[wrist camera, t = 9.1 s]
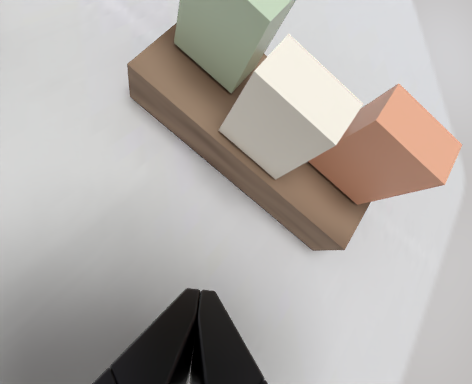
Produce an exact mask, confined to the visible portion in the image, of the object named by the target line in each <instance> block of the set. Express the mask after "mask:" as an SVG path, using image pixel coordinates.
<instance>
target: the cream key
mask: <svg viewBox="0 0 472 384" xmlns="http://www.w3.org/2000/svg"><path fill="white" fill-rule="evenodd" d="M362 105H363V103H362V102H361V101H360V100H359V99H358V98H357V97H356V96H355V95H354V94H352V93H351V92H350V91H349V90H348V89H347V88H346V87H345V86H344V85H343V84H342V83H341V82H340V81H339V80H338V79H337V78H335V77H334V76H333V75H332V74H331V73H330V72H329V71H328V70H327V69H326V68H325V67H324V66H323V65H322V64H321V63H319V62H318V61H317V60H316V59H315V58H314V57H313V56H312V55H311V54H310V53H309V52H308V51H307V50H306V49H305V48H304V47H302V46H301V45H300V44H299V43H298V42H297V41H296V40H295V39H294V38H293V37H292V36H291V35H290V34H288V35H287V36H286V37H285V38H284V39H283V40H282V42H281V43H280V44H279V45H278V46H277V47H276V48H275V49H274V50H273V51H272V52H271V53H270V55H269V56H268V57H267V58H266V59H265V60H264V61H263V62H262V63H261V64H260V65H259V66H258V67H257V69H256V70H255V71H254V72H253V74H252V75H251V77H250V79H249V80H248V82H247V84H246V85H245V87H244V89H243V90H242V92H241V94H240V95H239V97H238V99H237V100H236V102H235V104H234V105H233V107H232V109H231V110H230V112H229V114H228V115H227V117H226V119H225V120H224V122H223V124H222V125H221V127H220V129H219V131H220V132H221V133H222V134H223V135H224V136H226V137H227V138H228V139H229V140H230V141H231V142H233V143H234V144H235V145H236V146H237V147H238V148H240V149H241V150H242V151H243V152H244V153H245V154H247V155H248V156H249V157H250V158H251V159H252V160H253V161H255V162H256V163H257V164H258V165H259V166H260V167H262V168H263V169H264V170H265V171H266V172H267V173H269V174H270V175H271V176H272V177H273V178H274V179H277V178H279V177H281V176H283V175H285V174H286V173H288V172H290V171H292V170H293V169H295V168H297V167H299V166H301V165H302V164H304V163H306V162H308V161H309V160H311V159H313V158H315V157H316V156H318V155H320V154H322V153H324V152H325V151H327V150H329V149H331V148H332V147H334V146H336V145H337V143H338V142H339V140H340V139H341V137H342V136H343V134H344V133H345V131H346V130H347V128H348V127H349V125H350V124H351V122H352V121H353V119H354V118H355V116H356V115H357V113H358V112H359V110H360V109H361V107H362Z"/></svg>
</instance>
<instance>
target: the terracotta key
mask: <svg viewBox="0 0 472 384" xmlns="http://www.w3.org/2000/svg"><path fill="white" fill-rule="evenodd" d="M461 147H462V144H461V143H460V142H459V141H458V140H457V139H456V138H455V137H454V136H453V135H452V134H451V133H449V132H448V131H447V130H446V129H445V128H444V127H443V126H442V125H441V124H440V123H439V122H438V121H437V120H436V119H435V118H434V117H433V116H432V115H431V114H430V113H429V112H428V111H427V110H426V109H425V108H424V107H423V106H422V105H421V104H420V103H418V102H417V101H416V100H415V99H414V98H413V97H412V96H411V95H410V94H409V93H408V92H407V91H406V90H405V89H404V88H403V87H402V86H401V85H400V84H397V85H396V86H394V87H393V88H391V89H390V90H388V91H387V92H385V93H384V94H382V95H381V96H379V97H378V98H376V99H375V100H373V101H372V102H370V103H369V104H367V105H366V106H364V107H363V108H361V109H360V110H359V112H358V113H357V115H356V116H355V118H354V119H353V121H352V122H351V124H350V125H349V127H348V128H347V130H346V131H345V133H344V134H343V136H342V137H341V139H340V140H339V142H338V143H337V145H336V146H334V147H332V148H331V149H329V150H327V151H325V152H324V153H322V154H320V155H318V156H316V157H315V158H313V159H311V160H309V161H308V162H309V163H311V164H312V165H313V166H314V167H315V168H316V169H317V170H318V171H320V172H321V173H322V174H323V175H324V176H325V177H326V178H327V179H329V180H330V181H331V182H332V183H333V184H334V185H335V186H337V187H338V188H339V189H340V190H341V191H342V192H343V193H344V194H346V195H347V196H348V197H349V198H350V199H351V200H352V201H353V202H355V203H356V204H357V205H359V204H363V203H367V202H372V201H376V200H380V199H385V198H389V197H393V196H398V195H402V194H407V193H411V192H415V191H420V190H424V189H428V188H433V187H437V186H441V185H445V183H446V181H447V178H448V176H449V174H450V172H451V169H452V167H453V165H454V162H455V160H456V158H457V156H458V153H459V151H460V149H461Z"/></svg>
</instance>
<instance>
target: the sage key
mask: <svg viewBox="0 0 472 384" xmlns="http://www.w3.org/2000/svg"><path fill="white" fill-rule="evenodd" d="M295 1H296V0H180V2H179V9H178V16H177V24H176V31H175V38H174V43H175V44H176V45H177V46H178V47H179V48H180V49H181V50H183V51H184V52H185V53H186V54H187V55H188V56H189V57H191V58H192V59H193V60H194V61H195V62H196V63H197V64H198V65H200V66H201V67H202V68H203V69H204V70H205V71H206V72H207V73H209V74H210V75H211V76H212V77H213V78H214V79H215V80H217V81H218V82H219V83H220V84H221V85H222V86H223V87H224V88H226V89H227V90H228V91H229V92H230V93H232V92H233V91H234V90H235V89H236V88H237V87H238V86H239V85H240V84H241V83H242V81H243V80H244V79H245V78H246V77H247V76H248V75H249V74H250V73H251V72H252V71H253V70H254V69H255V67H256V66H257V64H258V62H259V61H260V59H261V57H262V56H263V54H264V52H265V51H266V49H267V47H268V46H269V44H270V42H271V41H272V39H273V37H274V36H275V34H276V32H277V31H278V29H279V27H280V26H281V24H282V22H283V21H284V19H285V17H286V16H287V14H288V12H289V11H290V9H291V7H292V6H293V4H294V2H295Z"/></svg>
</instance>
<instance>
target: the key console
mask: <svg viewBox="0 0 472 384" xmlns="http://www.w3.org/2000/svg"><path fill="white" fill-rule="evenodd" d="M176 24H177V23H176ZM176 24H175V25H174V26H172V27H171V28H170V29H169V30H168V31H166V32H165V33H164V34H163V35H162V36H160V37H159V38H158V39H157V40H156V41H154V42H153V43H152V44H151V45H150V46H148V47H147V48H146V49H145V50H144V51H142V52H141V53H140V54H139V55H138V56H136V57H135V58H134V59H133V60H132V61H130V62H129V63H128V64H127V67H128V78H129V90H130V97H131V98H132V99H134V100H135V101H136V102H137V103H138V104H139V105H141V106H142V107H143V108H144V109H145V110H147V111H148V112H149V113H150V114H151V115H153V116H154V117H155V118H156V119H157V120H159V121H160V122H161V123H162V124H163V125H164V126H166V127H167V128H168V129H169V130H170V131H172V132H173V133H174V134H175V135H176V136H178V137H179V138H180V139H181V140H182V141H184V142H185V143H186V144H187V145H188V146H189V147H191V148H192V149H193V150H194V151H195V152H197V153H198V154H199V155H200V156H201V157H203V158H204V159H205V160H206V161H207V162H208V163H210V164H211V165H212V166H213V167H214V168H216V169H217V170H218V171H219V172H220V173H222V174H223V175H224V176H225V177H226V178H228V179H229V180H230V181H231V182H232V183H233V184H235V185H236V186H237V187H238V188H239V189H241V190H242V191H243V192H244V193H245V194H247V195H248V196H249V197H250V198H251V199H252V200H254V201H255V202H256V203H257V204H258V205H260V206H261V207H262V208H263V209H264V210H266V211H267V212H268V213H269V214H270V215H272V216H273V217H274V218H275V219H276V220H277V221H279V222H280V223H281V224H282V225H283V226H285V227H286V228H287V229H288V230H289V231H291V232H292V233H293V234H294V235H295V236H297V237H298V238H299V239H300V240H301V241H302V242H304V243H305V244H306V245H307V246H308V247H310V248H311V249H312V250H345V248H346V246H347V244H348V243H349V241H350V239H351V237H352V235H353V233H354V232H355V230H356V228H357V226H358V224H359V222H360V221H361V219H362V217H363V215H364V213H365V211H366V210H367V208H368V206H369V204H370V202H367V203H363V204H359V205H357V204H356V203H355V202H353V201H352V200H351V199H350V198H349V197H348V196H347V195H346V194H344V193H343V192H342V191H341V190H340V189H339V188H338V187H337V186H335V185H334V184H333V183H332V182H331V181H330V180H329V179H327V178H326V177H325V176H324V175H323V174H322V173H321V172H320V171H318V170H317V169H316V168H315V167H314V166H313V165H312V164H311V163H309V162H306V163H304V164H302V165H301V166H299V167H297V168H295V169H293V170H292V171H290V172H288V173H286V174H285V175H283V176H281V177H279V178H277V179H274V178H273V177H272V176H271V175H270V174H269V173H267V172H266V171H265V170H264V169H263V168H262V167H260V166H259V165H258V164H257V163H256V162H255V161H253V160H252V159H251V158H250V157H249V156H248V155H247V154H245V153H244V152H243V151H242V150H241V149H240V148H238V147H237V146H236V145H235V144H234V143H233V142H231V141H230V140H229V139H228V138H227V137H226V136H224V135H223V134H222V133H221V132H220V131H219V129H220V127H221V125H222V124H223V122H224V120H225V119H226V117H227V115H228V114H229V112H230V110H231V109H232V107H233V105H234V104H235V102H236V100H237V99H238V97H239V95H240V94H241V92H242V90H243V89H244V87H245V85H246V84H247V82H248V80H249V79H250V77H251V75H252V74H253V72H254V71H255V70H256V69H257V67H258V66H259V65H260V64H261V63H262V62H263V61H264V60H265V59H266V58H267V56H266V55H265V54H263V56H262V57H261V59H260V61H259V62H258V64H257V66H256V67H255V69H254V70H253V71H252V72H251V73H250V74H249V75H248V76H247V77H246V78H245V79H244V80H243V81H242V83H241V84H240V85H239V86H238V87H237V88H236V89H235V90H234V91H233V92H232V93H230V92H229V91H228V90H227V89H226V88H224V87H223V86H222V85H221V84H220V83H219V82H218V81H217V80H215V79H214V78H213V77H212V76H211V75H210V74H209V73H207V72H206V71H205V70H204V69H203V68H202V67H201V66H200V65H198V64H197V63H196V62H195V61H194V60H193V59H192V58H191V57H189V56H188V55H187V54H186V53H185V52H184V51H183V50H181V49H180V48H179V47H178V46H177V45H176V44H175V43H174V38H175V31H176Z"/></svg>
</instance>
